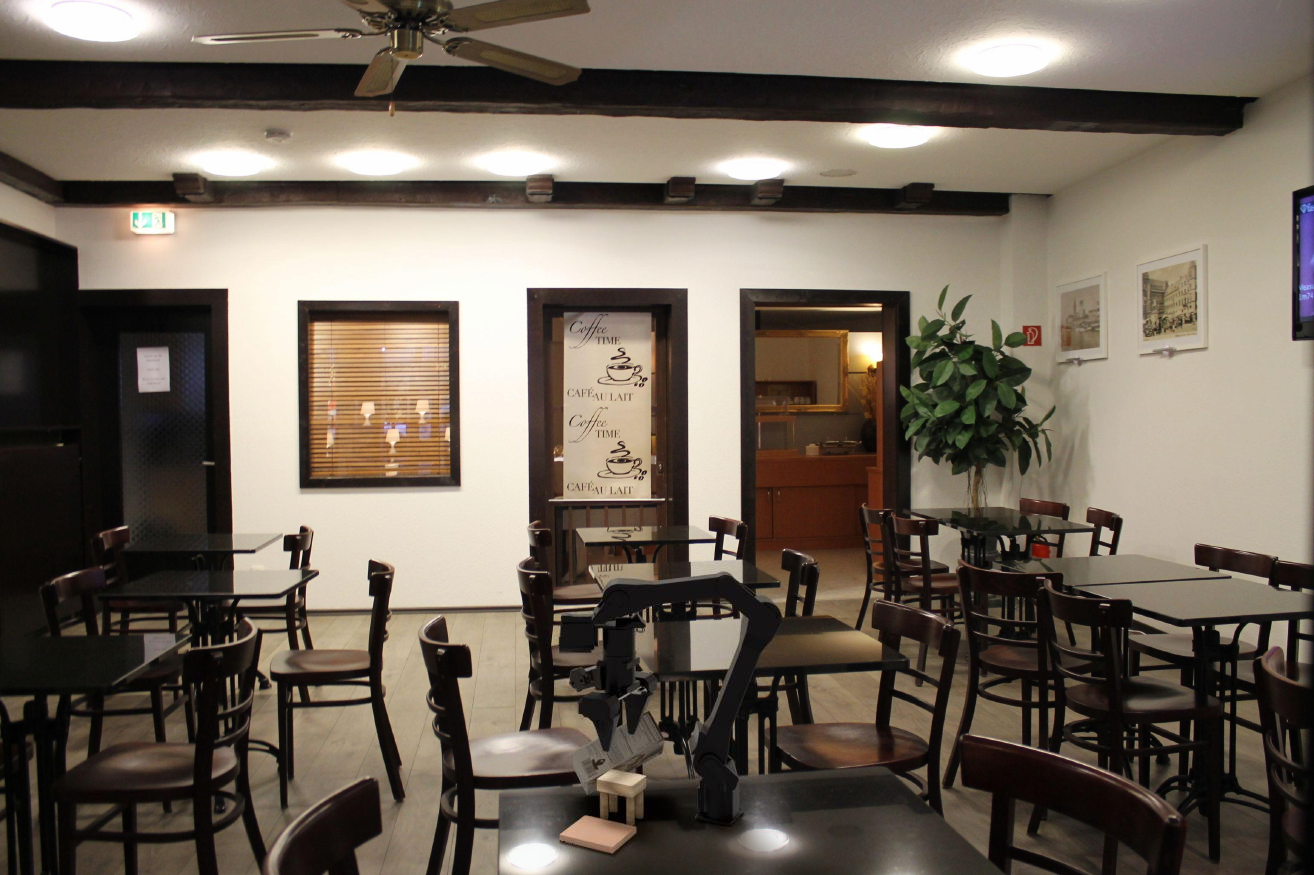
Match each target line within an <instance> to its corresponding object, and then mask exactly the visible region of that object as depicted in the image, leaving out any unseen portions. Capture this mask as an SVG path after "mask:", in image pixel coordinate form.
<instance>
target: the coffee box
mask: <svg viewBox="0 0 1314 875" xmlns="http://www.w3.org/2000/svg"><path fill="white" fill-rule="evenodd" d="M659 727H660V726H659V725H658V723H657V722H656V720H655V718H654V716H653V715H652V713H651V710H647V711H645V712H644V714H643V716H642V718H641V720H640V723H639V725H638V727H637V729H636V732H635V734H634V735H631V734H628V729H627V722H626V723H625V722H624V723H623V724H621V725H620V726H618V727H616V731H615V734H614V738H613V742H612V745H611V748H610V751H609V752H605V751H603V749H602V746H601V743H600V740H599V738H598V737H597V738H595V739H594V740H592V741H590V742H588V743H586V744H584V745H582V746H580V747H579V748H577V749H575V750H573V751H572V753H571V759H572V767H573V770H574V771H575V774H576V775H577V778H578V779H579V782H580V784H581V786H582V789H584V792H585V793H586V795H587V796H589V795H590V794H592V793H594V792H596V791H597V779H598V778H599V777H601V776H602V775H603V774H605V773H606V772H608V771H609V770H611V769H614V770H619V771H624V772H629V773H631V771H634V770H635V769H636V768H638V767H641V766H642V765H643V764H646V763H647V762H649V761H650V760H653V759H654V758H656V757H658V756H660V755H662V754H663V751H664V745H665V741H666V739H665V738H664V735H663V734H662V732H661V729H660V728H659Z"/></svg>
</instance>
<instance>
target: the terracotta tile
mask: <svg viewBox="0 0 1314 875" xmlns="http://www.w3.org/2000/svg"><path fill="white" fill-rule="evenodd" d="M636 834H637V826H635V825H633V826H630V825H627V823H626V824H625V823H620V822H617V821H612V820H608V819H607V820H604V819H600V817H595V816H591V815H590V816H589V815H583V816H582V817H581V818H580V819H579V820H577V821H575V822H574V823H573V824H571V825H570V826H568V828H567V829H565V830H563V831H562V832H561V833H560V834H559V841H560V840H561V841H560V842H563V841H565V842H564V843H568V844H572V843H573V844H572V845H576V846H579V847H580V846H581V847H585V848H589V849H592V850H597V851H600V852H605V853H610V854H614V853H615V852H616V851H617V850H618V849H620V848H621V847H622V846H623V845H624V844H625V843H626V842H628V840H630V839H631V838H632V837H633V836H635V835H636Z"/></svg>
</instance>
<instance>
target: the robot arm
mask: <svg viewBox="0 0 1314 875" xmlns="http://www.w3.org/2000/svg"><path fill="white" fill-rule="evenodd" d="M601 596H602V597H601V600H600V602H598V604H596V606H595V607H594V608H593V611H592V613H580V614H579V613H570V612H562V613H561V615H560V629H559V635H558V653H559V654H563V655H564V654H565V655H566V654H567V655H569V654H573V655H575V654H592V653H593V651H595V648H599V645H600V644H599V643H600V642H599V641H600V639H599V638H600V636H599V635H600V633H599V632H600V630H599V629H601V630H602V634H601V635H602V641H601V642H602V645H601V646H602V648H601V649H602V651H601V652H602V653H601V654H602V657H601V658H599V659H597V661H596V664H595V665H593V666H590V667H586V668H584V667H583V666H580V667H577V668H573V669H572V670H570V673H569V681H568V685H570V686H571V688H573V689H574V690H576V693H581V692H582V691H583V690H587V689H590V688H594V690H595V691H590V692H589V693H587V694H585V695H583V696H581V697H580V699H579V700H577V714H578V715H581V716H583V718H585V719H586V718H587V719H588V720H590V722H592V724H593V726H594V728H595V729H594V730H595V731H596V735H597V738H599V740H600V743H601V746H602V749H603V751H605V752H609V751H610V748H611V745H612V742H613V738H614V734H615V731H616V728H618V727H617V726H618V722H619V719H620V716H621V713H619V710H620V707H621V705H620V704H621V703H620V702H621V701H620V700H622V701H623V703H624V708H625V720H626V721H625V722H626V723H627V729H628V734H631V735H634V734H635V732H636V729H637V727H638V725H639V723H640V720H641V718H642V716H643V714H644V713H645V712H646V709H647V707H648V705H649V703H650V701H651V699H652V697H653V696H654V695H655V694H654V692H655V691H657V689H658V678H657V677H656V676H655V675H654V673H653V672H645V671H636V666H637V665H639V664H640V663H641V657H639V656H636V629H646V628H647V623H646V620H645V619H644V618H643V617H642V616H641V615H640V614H639V613H640V612H642V611H645V610H647V609H649V608H651V607H655V606H658V605H669V604H675V603H676V604H677V603H683V602H693V601H699V600H708V599H717V598H722V599H724V600H725V601H726V602H728V603H729V604H730V605H731V606H733V608H735V609H736V610H737V611H738V612H739V613H741V614H742V619H741V624H740V631H739V641H738V645H737V647H736V649H735V652H734V654H733V656H732V659H731V662H730V665H729V667H728V670H727V672H726V675H725V678H724V680H723V683H722V685H721V688H720V690H719V693H718V694H717V695H718V696H717V698H716V701H715V703H714V705H713V708H712V711H711V712H710V716H708V718H707V719H706V720H705V722H703V723H702V722H701V721H699V720H696V721H695V725H694V730H693V733H692V735H691V737H690V738H688V746H689V753H690V757H691V758H690V759H691V763H692V768H693V770H694V771H695V774H696V775H698V776H699V777H701V778H700V779H699V786H698V787H697V788H696V809H697V811H698V812H697V813H696V815H695V819H696V820H698V821H699V820H700V821H705V822H708V823H714V824H718V825H723V826H726V827H727V826H731V825H732V824H733V823H734V822H735V821H736V820H737V819H738V818H739V817H740V816H741V815H742V814H743V812H744V811H743V810H744V809H743V808H742V807H740V779H739V776H738V772H737V769H736V766H735V765H736V764H735V763H734V759H733V758H732V757H731V756H730V755H729V752H730V745H731V744H730V742H731V733H732V729H733V726H734V723H735V720H736V718H737V716H738V713H739V711H740V709H741V706H742V702H743V700H744V698H745V695H746V693H747V690H748V687H749V685H750V682H751V680H752V677H753V674H754V672H755V669H756V667H757V664H758V662H759V661H760V656H761V655H762V653H763V652H764V651H765V650H766V648H767V647H768V646H769V645H770V644H771V643H772V641H773V639H774V638H775V636H776V634H777V633H778V631H779V629H780V628H781V626H782V622H783V615H782V612H781V610H780V608H779V607H778V605H777V604H776V603H775V601H773V600H772V598H770V597H769V596H767V595H764V594H763V595H762V594H759V595H757V594H756V592H753V591H752V590H751V589H750V588H749V587H747V586H746V585H744V584H743V583H742V582H740V581H739V580H737V579H736V578H735V577H734V575H733V574H731V573H730V572H729V571H720V572H717V573H711V574H704V575H703V574H700V575H695V576H694V575H693V576H685V577H684V576H683V577H679V578H677V577H676V578H669V579H660V580H647V579H641V578H627V577H617V578H613V579H610V580H609V581H608V582H607V583H606V584H605V585H604V587H603V591H602V594H601ZM629 615H631V616H629ZM614 618H615V620H612V619H614ZM601 691H603V692H601Z"/></svg>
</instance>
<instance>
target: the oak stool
mask: <svg viewBox="0 0 1314 875" xmlns="http://www.w3.org/2000/svg"><path fill="white" fill-rule="evenodd" d="M646 788H647V775H644V774H640V773H634V772H624V771H619V770H614V769H611V770H609V771H608V772H606V773H605V774H603V775H602V776H601V777H599V778H598V779H597V790H596V791H597V792H599V809H600V810H599V814H600V815H599V816H600V817H599V819H604V820H608V819H609V813H611V812H615V813H617V812H618V796H621V797H625V798H626V799H625V800H626V801H625V802H626V803H625V805H626V806H625V807H626V808H625V809H626V810H625V811H626V818H625V820H626V825H630V826H635V823H636V822H635V821H636V819H643V818H644V790H645V789H646Z"/></svg>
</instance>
